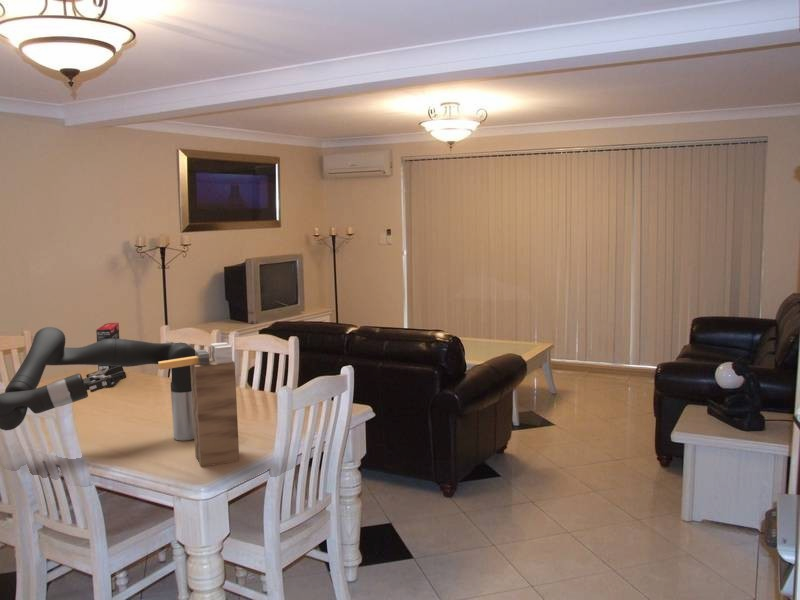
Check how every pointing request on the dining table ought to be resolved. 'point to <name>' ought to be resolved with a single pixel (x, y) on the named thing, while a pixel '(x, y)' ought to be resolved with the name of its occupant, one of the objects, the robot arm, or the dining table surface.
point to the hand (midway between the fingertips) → (124, 371)
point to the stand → (215, 406)
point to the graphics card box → (108, 333)
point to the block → (178, 362)
